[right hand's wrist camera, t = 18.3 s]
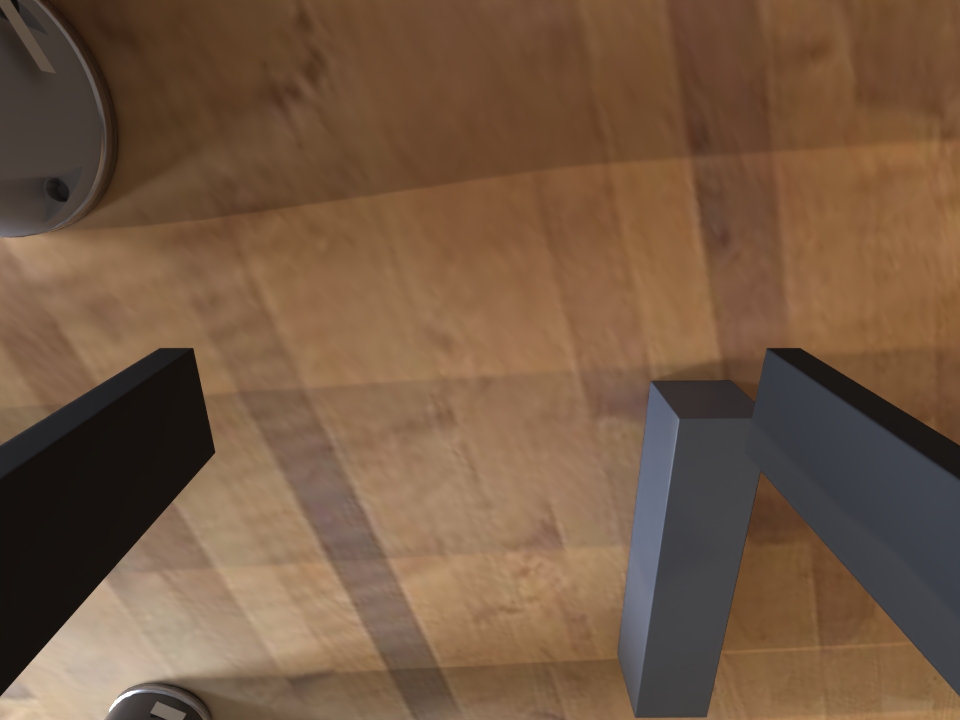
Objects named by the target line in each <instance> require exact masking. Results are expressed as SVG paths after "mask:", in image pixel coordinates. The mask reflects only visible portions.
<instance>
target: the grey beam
mask: <svg viewBox="0 0 960 720" xmlns="http://www.w3.org/2000/svg"><path fill="white" fill-rule="evenodd" d="M754 406H755V402H754V401H753V400H752V399H751V398H750V397H749V396H747V395H746V394H745V393H744V392H743V391H742V390H741V389H740V388H739V387H737V386H736V385H735V384H734V383H733V382H732V381H651V383H650V391H649V400H648V408H647V416H646V424H645V433H644V441H643V449H642V457H641V465H640V474H639V482H638V490H637V498H636V507H635V515H634V523H633V531H632V539H631V548H630V556H629V564H628V572H627V581H626V589H625V597H624V605H623V613H622V622H621V630H620V638H619V646H618V658H619V662H620V665H621V669H622V673H623V676H624V680H625V683H626V687H627V691H628V694H629V698H630V702H631V705H632V709H633V713H634V716H635V718H665V717H707V713H708V708H709V704H710V699H711V695H712V690H713V686H714V681H715V677H716V672H717V667H718V663H719V658H720V654H721V649H722V645H723V640H724V636H725V631H726V627H727V622H728V618H729V613H730V608H731V604H732V599H733V595H734V590H735V586H736V581H737V577H738V572H739V568H740V563H741V558H742V554H743V549H744V545H745V540H746V536H747V531H748V527H749V522H750V518H751V513H752V509H753V504H754V499H755V495H756V490H757V486H758V481H759V477H760V472H761V471H760V469H759V468H758V467H757V466H756V465H755V464H754V463H753V461H752V460H751V459H750V458H749V457H748V456H747V455H746V454H745V448H746V444H747V439H748V434H749V429H750V425H751V420H752V415H753V411H754Z"/></svg>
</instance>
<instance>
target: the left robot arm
mask: <svg viewBox="0 0 960 720" xmlns="http://www.w3.org/2000/svg"><path fill="white" fill-rule="evenodd" d="M104 720H211V717H210V714H209V712H208V710H207V708H206V707H205V706H204V705H203V703H202V702H201V701H200V700H198V699H197V698H196V697H194V696H193V695H192V694H190V693H188V692H186V691H184V690H182V689H179V688H176V687H173V686H169V685H164V684H141V685H136V686H133V687H131V688H129V689H127V690H125V691H124V692H122V693H121V694H120V695H119V696H118V698H117V699H116V701H115V702H114V704H113V705H112V707H111V709H110V711H109V713H108V715H107V716H106V718H105V719H104Z"/></svg>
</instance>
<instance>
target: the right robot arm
mask: <svg viewBox="0 0 960 720" xmlns="http://www.w3.org/2000/svg"><path fill="white" fill-rule="evenodd" d="M116 155H117V125H116V118H115V112H114V107H113V103H112V100H111V96H110V93H109V90H108V87H107V84H106V82H105V79H104V77H103V75H102V73H101V70H100V68H99V66H98V64H97V62H96V61H95V59H94V57H93V55H92V53H91V52H90V50H89V49H88V47H87V45H86V44H85V42H84V41H83V39H82V38H81V37H80V35H79V34H78V33H77V31H76V30H75V29H74V27H73V26H72V25H71V24H70V23H69V22H68V21H67V19H66V18H65V17H64V16H63V15H62V14H61V13H60V12H59V11H58V10H57V9H56V8H55V7H54V6H53V5H52V4H51V3H50V2H49V1H47V0H0V237H24V236H31V235H37V234H42V233H47V232H52V231H55V230H59V229H62V228H64V227H67V226H69V225H71V224H73V223H75V222H76V221H78V220H80V219H81V218H82V217H84V216H85V215H86V214H87V213H88V212H89V211H91V210H92V209H93V208H94V207H95V205H96V204H97V203H98V202H99V200H100V199H101V197H102V196H103V194H104V193H105V191H106V189H107V187H108V185H109V182H110V180H111V177H112V174H113V171H114V167H115V162H116ZM214 454H215V448H214V444H213V439H212V434H211V429H210V425H209V420H208V415H207V411H206V406H205V401H204V397H203V392H202V387H201V382H200V378H199V373H198V368H197V364H196V359H195V354H194V349H193V348H159V349H158V350H156V351H154V352H153V353H151V354H149V355H148V356H146V357H145V358H143V359H141V360H140V361H138V362H136V363H135V364H133V365H131V366H130V367H128V368H127V369H125V370H123V371H122V372H120V373H118V374H117V375H115V376H113V377H112V378H110V379H109V380H107V381H105V382H104V383H102V384H100V385H99V386H97V387H95V388H94V389H92V390H91V391H89V392H87V393H86V394H84V395H82V396H81V397H79V398H77V399H76V400H74V401H73V402H71V403H69V404H68V405H66V406H64V407H63V408H61V409H59V410H58V411H56V412H54V413H53V414H51V415H50V416H48V417H46V418H45V419H43V420H41V421H40V422H38V423H36V424H35V425H33V426H32V427H30V428H28V429H27V430H25V431H23V432H22V433H20V434H18V435H17V436H15V437H14V438H12V439H10V440H9V441H7V442H5V443H4V444H2V445H0V696H1V695H2V694H3V693H4V692H5V691H6V689H7V688H8V687H9V686H10V685H11V684H12V683H13V681H14V680H15V679H16V678H17V677H18V676H19V675H20V674H21V672H22V671H23V670H24V669H25V668H26V667H27V666H28V664H29V663H30V662H31V661H32V660H33V659H34V658H35V657H36V655H37V654H38V653H39V652H40V651H41V650H42V649H43V647H44V646H45V645H46V644H47V643H48V642H49V641H50V640H51V638H52V637H53V636H54V635H55V634H56V633H57V632H58V630H59V629H60V628H61V627H62V626H63V625H64V624H65V623H66V621H67V620H68V619H69V618H70V617H71V616H72V615H73V613H74V612H75V611H76V610H77V609H78V608H79V607H80V605H81V604H82V603H83V602H84V601H85V600H86V599H87V598H88V596H89V595H90V594H91V593H92V592H93V591H94V590H95V588H96V587H97V586H98V585H99V584H100V583H101V582H102V581H103V579H104V578H105V577H106V576H107V575H108V574H109V573H110V571H111V570H112V569H113V568H114V567H115V566H116V565H117V564H118V562H119V561H120V560H121V559H122V558H123V557H124V556H125V554H126V553H127V552H128V551H129V550H130V549H131V548H132V547H133V545H134V544H135V543H136V542H137V541H138V540H139V539H140V537H141V536H142V535H143V534H144V533H145V532H146V531H147V530H148V528H149V527H150V526H151V525H152V524H153V523H154V522H155V520H156V519H157V518H158V517H159V516H160V515H161V514H162V513H163V511H164V510H165V509H166V508H167V507H168V506H169V505H170V503H171V502H172V501H173V500H174V499H175V498H176V497H177V496H178V494H179V493H180V492H181V491H182V490H183V489H184V488H185V486H186V485H187V484H188V483H189V482H190V481H191V480H192V478H193V477H194V476H195V475H196V474H197V473H198V472H199V471H200V469H201V468H202V467H203V466H204V465H205V464H206V463H207V461H208V460H209V459H210V458H211V457H212V456H213V455H214ZM745 454H746V455H747V456H748V457H749V458H750V459H751V460H752V461H753V463H754V464H755V465H756V466H757V467H758V468H759V469H760V471H761V472H762V473H763V474H764V475H765V476H766V477H767V479H768V480H769V481H770V482H771V483H772V484H773V485H774V486H775V488H776V489H777V490H778V491H779V492H780V493H781V494H782V496H783V497H784V498H785V499H786V500H787V501H788V502H789V503H790V505H791V506H792V507H793V508H794V509H795V510H796V511H797V513H798V514H799V515H800V516H801V517H802V518H803V519H804V520H805V522H806V523H807V524H808V525H809V526H810V527H811V528H812V530H813V531H814V532H815V533H816V534H817V535H818V536H819V537H820V539H821V540H822V541H823V542H824V543H825V544H826V545H827V547H828V548H829V549H830V550H831V551H832V552H833V553H834V554H835V556H836V557H837V558H838V559H839V560H840V561H841V562H842V564H843V565H844V566H845V567H846V568H847V569H848V570H849V571H850V573H851V574H852V575H853V576H854V577H855V578H856V579H857V581H858V582H859V583H860V584H861V585H862V586H863V587H864V588H865V590H866V591H867V592H868V593H869V594H870V595H871V596H872V598H873V599H874V600H875V601H876V602H877V603H878V604H879V605H880V607H881V608H882V609H883V610H884V611H885V612H886V613H887V615H888V616H889V617H890V618H891V619H892V620H893V621H894V623H895V624H896V625H897V626H898V627H899V628H900V629H901V630H902V632H903V633H904V634H905V635H906V636H907V637H908V638H909V640H910V641H911V642H912V643H913V644H914V645H915V646H916V647H917V649H918V650H919V651H920V652H921V653H922V654H923V655H924V657H925V658H926V659H927V660H928V661H929V662H930V663H931V664H932V666H933V667H934V668H935V669H936V670H937V671H938V672H939V674H940V675H941V676H942V677H943V678H944V679H945V680H946V681H947V683H948V684H949V685H950V686H951V687H952V688H953V689H954V691H955V692H956V693H957V694H958V695H959V696H960V445H958V444H956V443H955V442H953V441H951V440H950V439H948V438H946V437H945V436H943V435H942V434H940V433H938V432H937V431H935V430H933V429H932V428H930V427H928V426H927V425H925V424H924V423H922V422H920V421H919V420H917V419H915V418H914V417H912V416H910V415H909V414H907V413H905V412H904V411H902V410H901V409H899V408H897V407H896V406H894V405H892V404H891V403H889V402H887V401H886V400H884V399H883V398H881V397H879V396H878V395H876V394H874V393H873V392H871V391H869V390H868V389H866V388H865V387H863V386H861V385H860V384H858V383H856V382H855V381H853V380H851V379H850V378H848V377H847V376H845V375H843V374H842V373H840V372H838V371H837V370H835V369H833V368H832V367H830V366H829V365H827V364H825V363H824V362H822V361H820V360H819V359H817V358H815V357H814V356H812V355H811V354H809V353H807V352H806V351H804V350H802V349H801V348H767V349H766V354H765V359H764V364H763V368H762V373H761V378H760V382H759V387H758V392H757V397H756V401H755V406H754V411H753V415H752V420H751V425H750V429H749V434H748V439H747V444H746V448H745Z"/></svg>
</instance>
